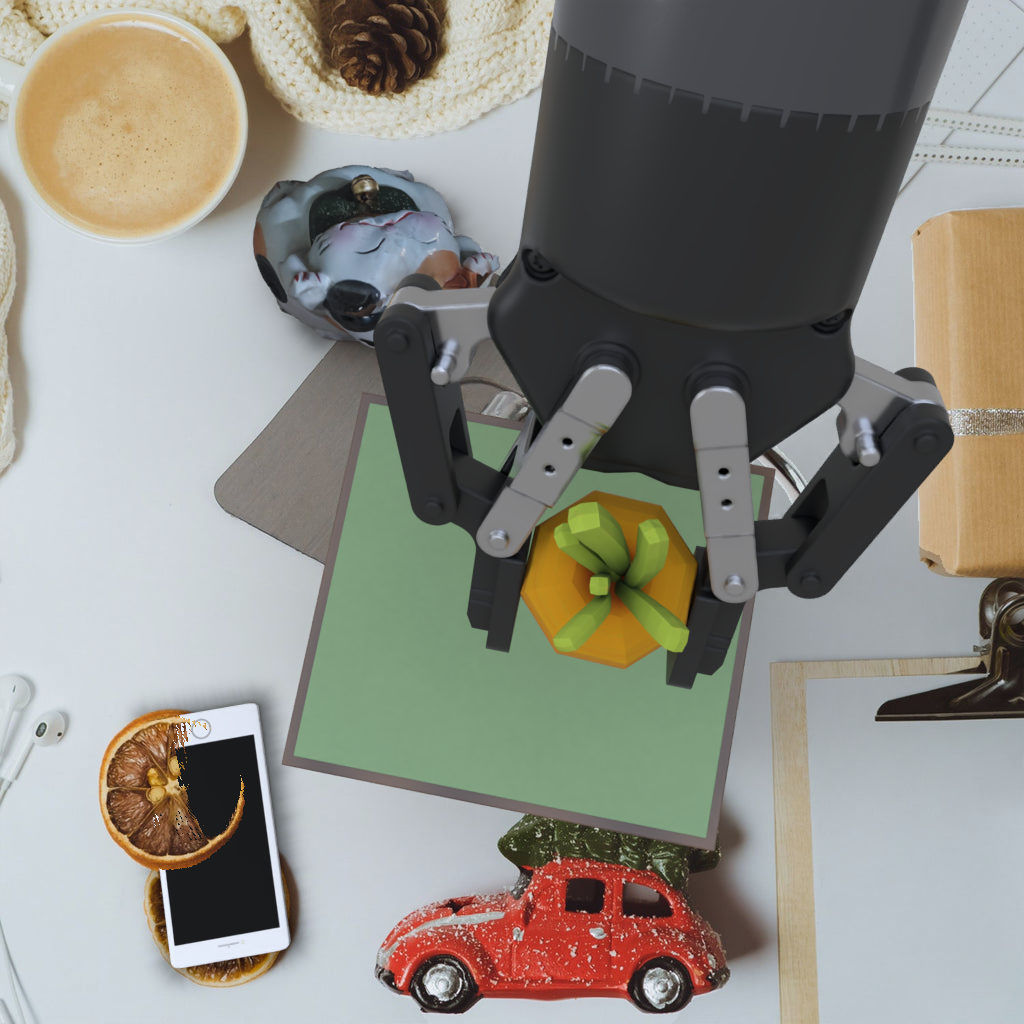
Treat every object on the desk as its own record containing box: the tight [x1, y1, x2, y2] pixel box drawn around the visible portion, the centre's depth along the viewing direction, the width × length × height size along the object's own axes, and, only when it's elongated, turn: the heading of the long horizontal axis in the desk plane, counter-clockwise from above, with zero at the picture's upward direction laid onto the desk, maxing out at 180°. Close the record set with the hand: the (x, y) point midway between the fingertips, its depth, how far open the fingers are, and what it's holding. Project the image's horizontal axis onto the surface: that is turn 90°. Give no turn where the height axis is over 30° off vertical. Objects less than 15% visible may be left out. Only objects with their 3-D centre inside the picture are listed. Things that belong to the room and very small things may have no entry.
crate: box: [281, 391, 777, 852], centre depth 57 cm, size 18×16×28 cm
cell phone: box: [152, 702, 292, 969], centre depth 69 cm, size 8×16×1 cm, turn 10°
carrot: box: [520, 490, 699, 670], centre depth 31 cm, size 5×5×15 cm
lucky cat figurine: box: [252, 164, 501, 349], centre depth 69 cm, size 15×12×14 cm
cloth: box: [294, 403, 764, 838], centre depth 43 cm, size 17×15×1 cm
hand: (590, 647), depth 31 cm, fingers closed on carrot, 4 cm apart
